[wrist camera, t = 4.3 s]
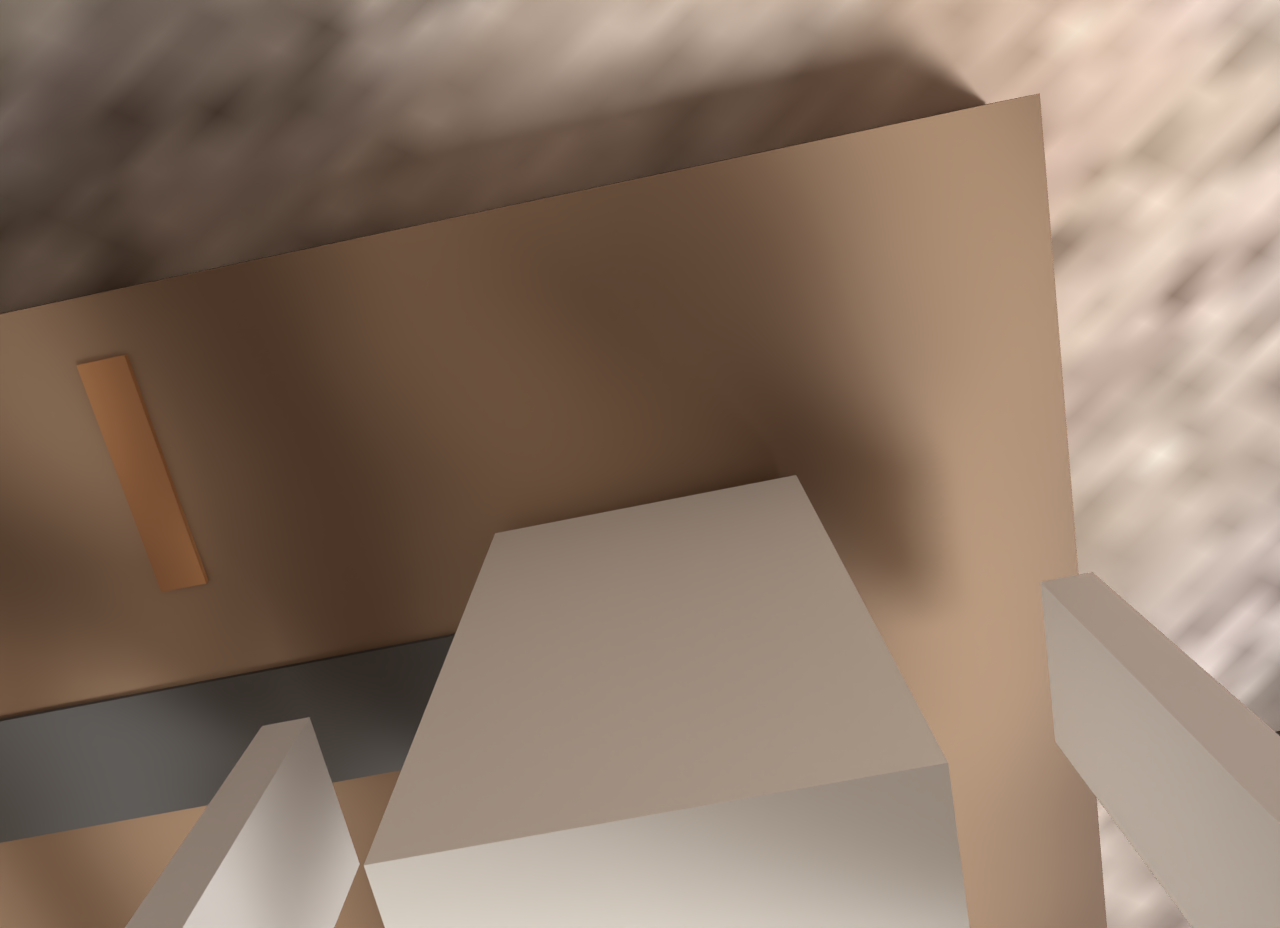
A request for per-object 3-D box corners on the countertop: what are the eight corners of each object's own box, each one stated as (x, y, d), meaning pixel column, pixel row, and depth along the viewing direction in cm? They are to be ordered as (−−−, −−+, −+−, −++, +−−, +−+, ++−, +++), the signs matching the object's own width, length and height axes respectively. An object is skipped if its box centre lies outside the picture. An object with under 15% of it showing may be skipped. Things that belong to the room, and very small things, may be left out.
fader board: (-69, 1065, 22) (-146, 1162, 20) (-419, 402, 18) (-567, 434, 16) (1061, 875, 21) (1111, 957, 19) (988, 103, 17) (1042, 92, 14)
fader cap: (574, 836, 18) (526, 1347, 10) (495, 533, 16) (363, 866, 8) (848, 789, 17) (1014, 1275, 10) (796, 475, 16) (947, 763, 8)
